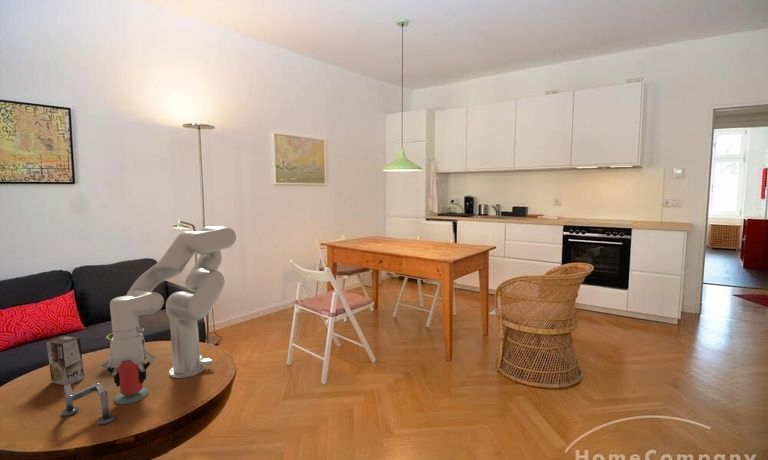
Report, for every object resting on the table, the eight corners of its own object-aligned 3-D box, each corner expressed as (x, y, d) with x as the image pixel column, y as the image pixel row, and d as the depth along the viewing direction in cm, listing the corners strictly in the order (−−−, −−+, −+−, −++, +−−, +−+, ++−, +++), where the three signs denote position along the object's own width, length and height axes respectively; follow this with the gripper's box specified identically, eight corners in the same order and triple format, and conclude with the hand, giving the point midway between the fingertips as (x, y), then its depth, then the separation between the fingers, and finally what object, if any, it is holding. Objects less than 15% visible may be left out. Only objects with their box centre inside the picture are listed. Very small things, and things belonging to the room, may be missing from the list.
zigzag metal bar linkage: (126, 401, 134) (124, 374, 133) (111, 423, 121) (109, 394, 120) (65, 410, 129) (62, 382, 128) (43, 434, 116) (40, 404, 115)
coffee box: (85, 378, 151) (81, 337, 149) (67, 386, 145) (62, 343, 143) (68, 374, 154) (64, 334, 152) (50, 382, 148) (45, 341, 146)
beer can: (132, 397, 133) (128, 362, 132) (115, 395, 134) (112, 361, 133) (147, 387, 140) (144, 354, 138) (131, 385, 141) (128, 353, 140)
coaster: (151, 387, 143) (151, 385, 143) (143, 401, 134) (143, 399, 134) (120, 391, 140) (120, 390, 140) (109, 406, 131) (109, 404, 131)
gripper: (157, 326, 141) (161, 374, 143) (101, 332, 136) (106, 381, 138) (151, 333, 133) (156, 384, 136) (91, 340, 129) (97, 392, 131)
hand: (131, 382), depth 137 cm, fingers closed on beer can, 6 cm apart
